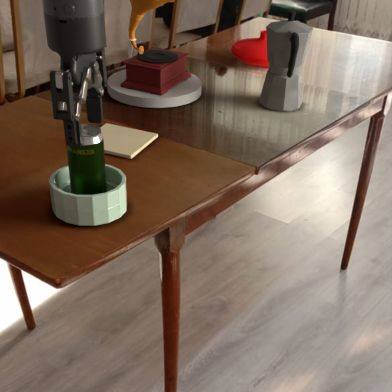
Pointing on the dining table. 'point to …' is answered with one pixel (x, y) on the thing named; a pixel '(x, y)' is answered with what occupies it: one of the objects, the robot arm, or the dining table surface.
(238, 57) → the red disc with nozzle
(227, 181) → the dining table surface
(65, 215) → the bowl
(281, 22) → the coffeepot
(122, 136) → the coaster
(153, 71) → the gramophone
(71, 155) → the beer can
